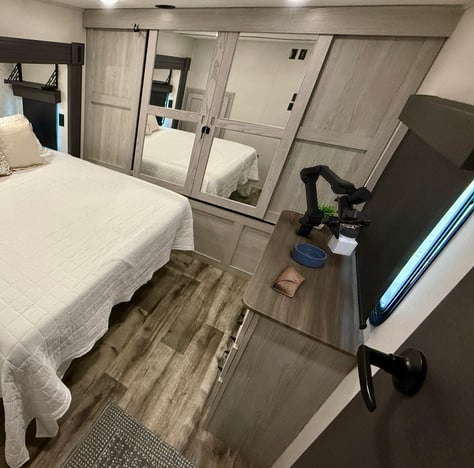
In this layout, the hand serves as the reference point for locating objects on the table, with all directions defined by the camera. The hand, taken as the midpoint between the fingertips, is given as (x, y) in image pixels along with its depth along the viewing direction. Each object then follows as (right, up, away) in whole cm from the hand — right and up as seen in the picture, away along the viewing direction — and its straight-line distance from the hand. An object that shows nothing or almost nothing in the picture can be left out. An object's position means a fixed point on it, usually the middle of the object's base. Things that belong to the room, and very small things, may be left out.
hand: (346, 240), depth 127 cm
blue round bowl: (-12, -9, +9) cm, 18 cm away
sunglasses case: (-32, -18, -8) cm, 38 cm away
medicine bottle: (0, -5, +5) cm, 7 cm away
